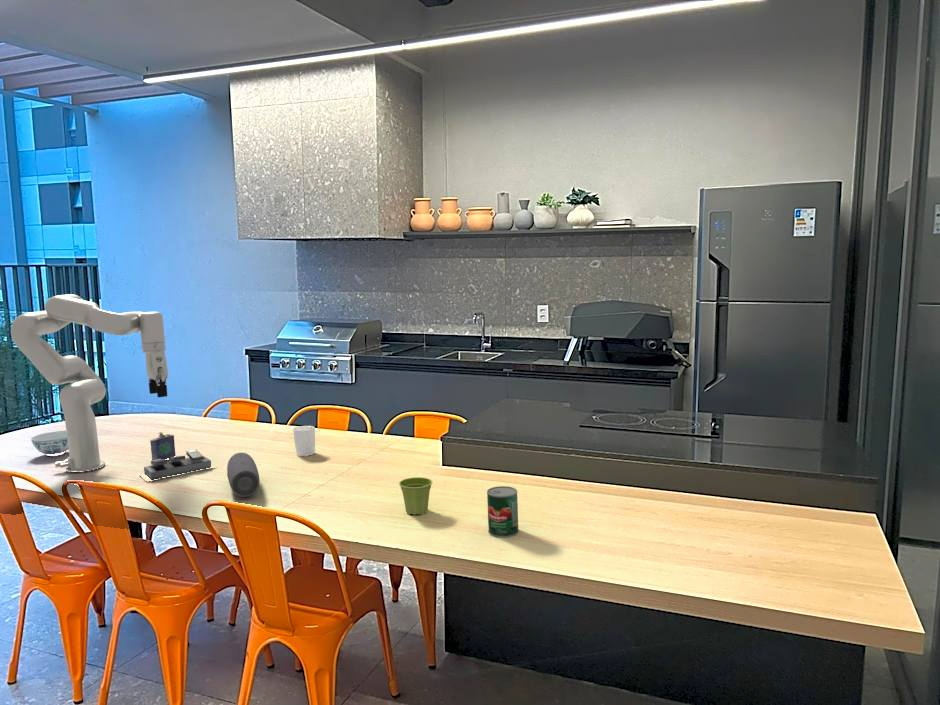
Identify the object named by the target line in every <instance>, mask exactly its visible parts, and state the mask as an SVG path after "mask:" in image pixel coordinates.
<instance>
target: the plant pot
mask: <svg viewBox="0 0 940 705" xmlns="http://www.w3.org/2000/svg"><path fill="white" fill-rule="evenodd" d="M398 485H399V487H400V489H401V492H402V497H403V500H404V502H403V503H404V509H405V512H407V513H406V514H407V515H410V514H413V515H412V516H414V515H419V514H421V515H424V514H427V512H428V510H429V500H430V499H429V498H430V491H431V488H432V485H433V480H432V479H431V478H427V477H419V476H418V477H417V476H416V477H408V478H404V479H402V480H400V481H399V482H398ZM423 513H424V514H423Z"/></svg>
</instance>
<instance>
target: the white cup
mask: <svg viewBox="0 0 940 705" xmlns="http://www.w3.org/2000/svg"><path fill="white" fill-rule="evenodd" d="M292 431H293V432H292V434H293V440H294V441H293V442H294V446H295V453H296V454H297V455H298V456H297V455H296V456H297V457H302V456H304V457H305V456H306V457H309V456H308V455H311V456H314V455H315V454H316V428H315V426H314V425H301V426H300V425H299V426H295V427H293V428H292ZM314 453H315V454H314ZM313 454H314V455H313Z"/></svg>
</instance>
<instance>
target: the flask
mask: <svg viewBox="0 0 940 705" xmlns="http://www.w3.org/2000/svg"><path fill="white" fill-rule="evenodd" d="M157 435H158V437H156V438H152V439H150V442H149V443H150V452H151V461H153V460H158V459H167V458H171V457H174V456H176V446H175V435H174V434H172V433H171V434H169V433H168V434H167V433H166V434H163V432H162V431H160V432H159V433H157Z"/></svg>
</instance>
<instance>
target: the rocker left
mask: <svg viewBox="0 0 940 705" xmlns="http://www.w3.org/2000/svg"><path fill="white" fill-rule="evenodd" d="M168 462H169V461H168V460H165V459H158V460H153V461H152V460H151V461H150V464H151V465H156V466H157V465H162V464H167V463H168ZM151 465H150V466H151Z"/></svg>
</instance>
